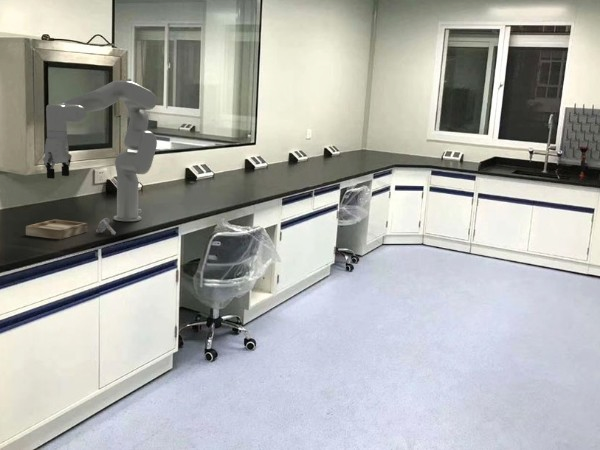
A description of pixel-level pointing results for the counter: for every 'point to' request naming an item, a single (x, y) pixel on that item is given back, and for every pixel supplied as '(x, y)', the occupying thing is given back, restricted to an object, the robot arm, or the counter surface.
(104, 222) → the stand
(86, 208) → the counter surface
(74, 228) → the beech platter
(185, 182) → the counter surface
